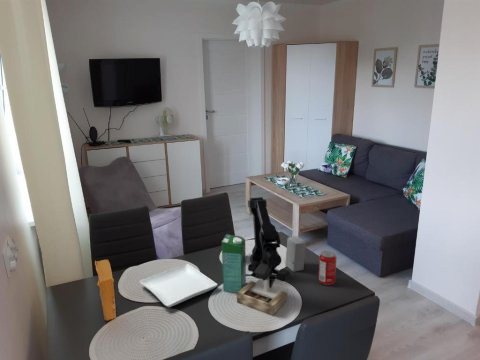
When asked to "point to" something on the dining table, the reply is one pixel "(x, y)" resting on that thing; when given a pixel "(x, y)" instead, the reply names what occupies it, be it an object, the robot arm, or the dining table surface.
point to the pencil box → (260, 300)
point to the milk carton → (233, 263)
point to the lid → (267, 288)
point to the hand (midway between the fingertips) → (268, 287)
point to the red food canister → (327, 267)
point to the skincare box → (295, 253)
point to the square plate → (178, 284)
